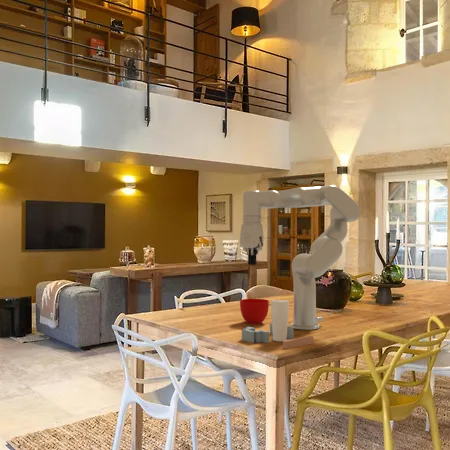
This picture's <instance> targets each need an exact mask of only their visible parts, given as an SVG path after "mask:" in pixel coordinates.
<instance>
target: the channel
mask: <svg viewBox="0 0 450 450" xmlns="http://www.w3.org/2000/svg"><path fill="white" fill-rule="evenodd" d="M270 335H273V331H272V322H271V323H269V331H268V330H265V329H259V330H256V328H255V327H252V326H246V327H245V328H243V329H242V328H241V340H242V341H245V342H248V343H251V344H255V343H256V344H257V343H265V344H267V343H270ZM314 340H315V339H314V336H312V335H309V336H303V337H297V338H294V328H292V327H290V326H288V328H287V340H284V341H283V342H282V348H283V349H291V348H296V347H297V348H298V347H301V346H307V345H313V344H314Z"/></svg>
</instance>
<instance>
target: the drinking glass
mask: <svg viewBox="0 0 450 450" xmlns="http://www.w3.org/2000/svg"><path fill="white" fill-rule="evenodd" d="M270 313H271V315H270V316H271V323H272V331H273V334H272V340H273V342H278V343H279V342H280V343H283V341H284V340H288V338H287V328H288V327H289V315H290V302H289V300H286V299H274V300H271V301H270Z"/></svg>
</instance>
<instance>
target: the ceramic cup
mask: <svg viewBox="0 0 450 450" xmlns="http://www.w3.org/2000/svg"><path fill="white" fill-rule="evenodd" d="M269 303H270V302H269V299H263V298H244V299H240V300H239V305H240V306H239V308H240V313H241V315H242V318H243V319H244V321H245V322H246V324H247V325H248V324H249V325H261V324H262V323H263V322H264V321H265V320H266V318H267V316H268V312H269V306H270V304H269Z"/></svg>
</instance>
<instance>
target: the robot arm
mask: <svg viewBox="0 0 450 450" xmlns="http://www.w3.org/2000/svg"><path fill="white" fill-rule="evenodd" d="M324 206H331V208H330V211H329V218H330V222H329V226H328V228H326V230H324V231H323V232H322V233H321V234H320V235H319V236H318V237H317V238H316V239H315V240H314V241H313V242H312V244H311V246H310V253H311V254H310V253H299V254H297V255H296V256H295V257H294V258H293V259H292V260H291V261H292V262H291V271H292V279H293V300H292V301H293V304H292V305H293V310H292V312H293V319H292V320H293V322H291V323H289V327H292V328H293V330H294V329H295V330H303V331H312V330H317V329H320V324H319V322H323V321H324V317H323V316H317V315H316V314H317V312H316V311H317V310H316V309H317V307H316V305H317V294H316V293H317V286H316V285H317V284H316V278H319V277H321V276H322V275H324V274H325V273H326V272H328V270H329V269H330V268H331V267H332V266H333V265H335V263H336V262H337V261H338V260H339V259H340V258H341V256H342V253H343V249H344V247H343V244H342V242H343V241H344V240H345V239H346V237H347V234H348V223H351V222H352V223H353V222H356V221H357V220H359V218H360V217H361V214H362V210H361V207H360V206H359V204H358V203H357V201H356V200H354V199H353V198H352V197H351V196H349V195H348V194H347V193H346V192H345V191H344V190H343V189H342V188H340V187H339V186H337V185H335V184H328V185H319V186H307V187H306V186H305V187H304V186H303V187H295V188H294V187H293V188H289V189H284V190H274V189H273V190H245V191H244V192H243V193H242V223H241V227H240V235H239V246H240V247H241V248H242V251H244V252H246V255H247V265H248V266H249V265H250V266H255V265H257V255H258V253H259V252H261V251H263V247H264V230H263V229H264V228H263V225H262V210H265V209H266V210H267V209H268V210H269V209H279V208H281V209H283V208H292V209H293V208H294V209H295V208H310V207H312V208H313V207H324Z"/></svg>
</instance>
